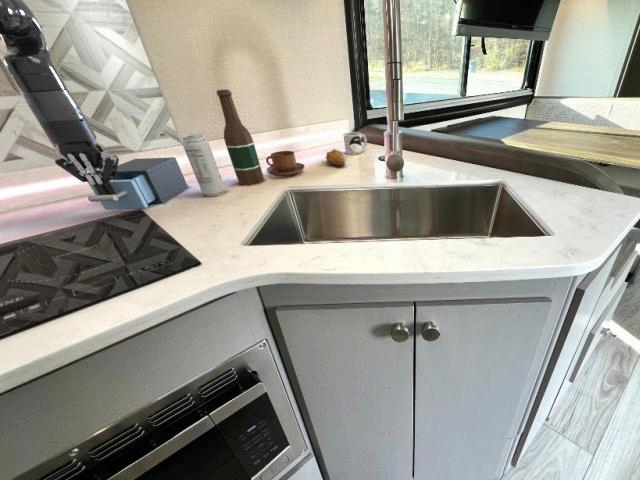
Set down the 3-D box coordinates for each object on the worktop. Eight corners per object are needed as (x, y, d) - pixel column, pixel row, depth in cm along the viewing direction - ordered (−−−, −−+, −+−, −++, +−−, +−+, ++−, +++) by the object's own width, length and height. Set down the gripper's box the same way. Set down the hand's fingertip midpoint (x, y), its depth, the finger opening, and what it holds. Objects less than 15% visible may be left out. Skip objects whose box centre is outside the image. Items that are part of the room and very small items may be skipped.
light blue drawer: (132, 215, 76) (116, 187, 72) (90, 217, 76) (71, 189, 72) (172, 191, 90) (161, 166, 86) (136, 193, 90) (123, 168, 86)
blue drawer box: (162, 203, 85) (145, 170, 80) (119, 205, 85) (100, 172, 80) (188, 187, 96) (175, 157, 90) (150, 188, 96) (135, 158, 90)
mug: (351, 155, 122) (349, 136, 118) (342, 152, 126) (340, 134, 122) (372, 150, 127) (370, 132, 123) (362, 148, 131) (361, 130, 127)
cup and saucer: (265, 180, 99) (260, 159, 95) (270, 170, 108) (265, 150, 105) (304, 177, 101) (300, 156, 97) (306, 167, 110) (302, 148, 106)
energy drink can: (231, 191, 91) (210, 133, 82) (214, 198, 87) (190, 138, 78) (215, 189, 93) (194, 132, 84) (198, 195, 89) (173, 137, 80)
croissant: (321, 161, 116) (318, 146, 113) (338, 158, 118) (336, 144, 115) (333, 169, 106) (331, 153, 103) (352, 166, 109) (350, 151, 106)
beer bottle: (241, 179, 101) (211, 89, 86) (266, 177, 102) (241, 88, 87) (235, 186, 95) (202, 91, 80) (262, 184, 96) (234, 90, 81)
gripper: (12, 120, 62) (70, 205, 73) (78, 118, 62) (127, 203, 73) (45, 115, 68) (94, 194, 79) (105, 113, 68) (147, 192, 79)
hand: (110, 198), depth 76 cm, fingers closed
